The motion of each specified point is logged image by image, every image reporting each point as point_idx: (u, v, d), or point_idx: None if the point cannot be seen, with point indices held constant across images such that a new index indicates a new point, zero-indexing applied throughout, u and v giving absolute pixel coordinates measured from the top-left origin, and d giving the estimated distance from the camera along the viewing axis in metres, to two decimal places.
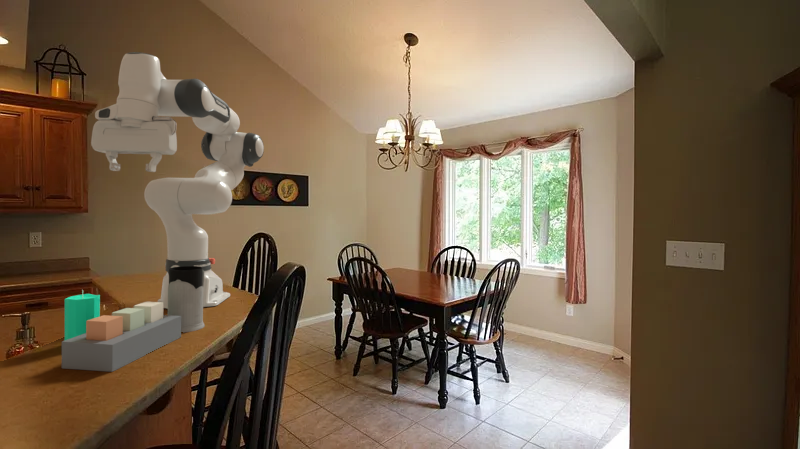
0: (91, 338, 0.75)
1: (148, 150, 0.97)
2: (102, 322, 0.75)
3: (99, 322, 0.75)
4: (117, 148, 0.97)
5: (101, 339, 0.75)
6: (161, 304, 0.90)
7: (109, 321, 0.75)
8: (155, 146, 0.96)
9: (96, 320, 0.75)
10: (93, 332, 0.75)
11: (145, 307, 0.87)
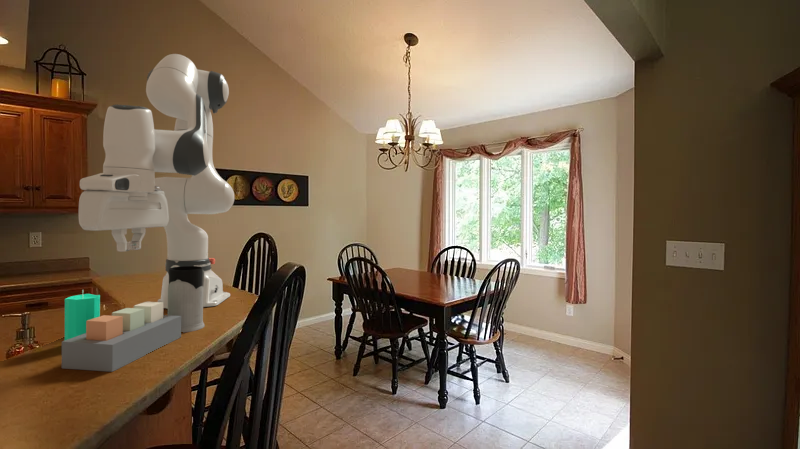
0: (91, 338, 0.75)
1: (153, 226, 0.87)
2: (102, 322, 0.75)
3: (99, 322, 0.75)
4: (126, 226, 0.79)
5: (101, 339, 0.75)
6: (161, 304, 0.90)
7: (109, 321, 0.75)
8: (160, 221, 0.89)
9: (96, 320, 0.75)
10: (93, 332, 0.75)
11: (145, 307, 0.87)
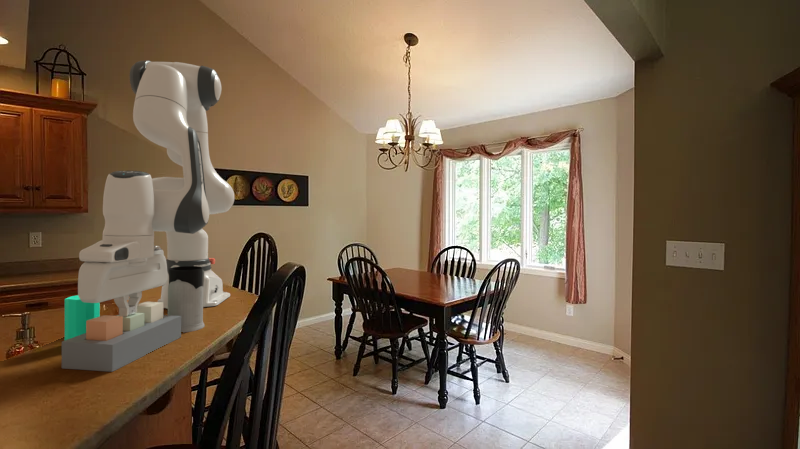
0: (91, 338, 0.75)
1: (152, 287, 0.87)
2: (102, 322, 0.75)
3: (99, 322, 0.75)
4: (125, 293, 0.79)
5: (101, 339, 0.75)
6: (161, 304, 0.90)
7: (109, 321, 0.75)
8: (159, 281, 0.89)
9: (96, 320, 0.75)
10: (93, 332, 0.75)
11: (145, 307, 0.87)
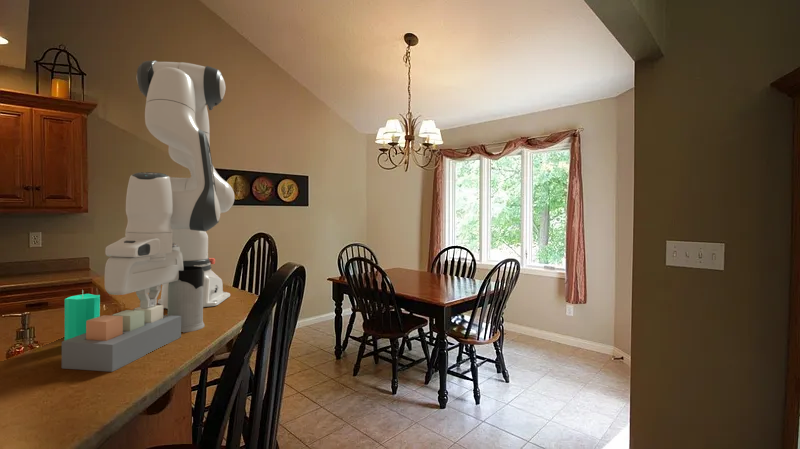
0: (91, 338, 0.75)
1: (170, 281, 0.93)
2: (102, 322, 0.75)
3: (99, 322, 0.75)
4: (146, 286, 0.85)
5: (101, 339, 0.75)
6: (161, 307, 0.90)
7: (109, 321, 0.75)
8: (176, 276, 0.95)
9: (96, 320, 0.75)
10: (93, 332, 0.75)
11: (145, 310, 0.87)
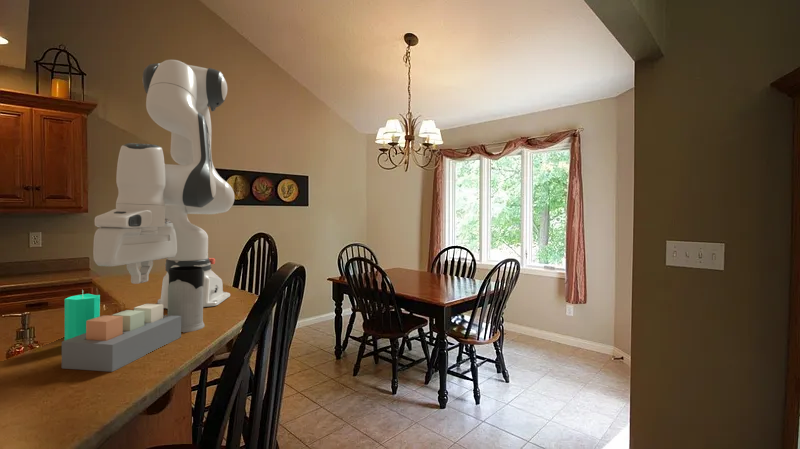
0: (91, 338, 0.75)
1: (162, 258, 0.90)
2: (102, 322, 0.75)
3: (99, 322, 0.75)
4: (137, 260, 0.82)
5: (101, 339, 0.75)
6: (161, 306, 0.90)
7: (109, 321, 0.75)
8: (169, 252, 0.92)
9: (96, 320, 0.75)
10: (93, 332, 0.75)
11: (145, 309, 0.87)
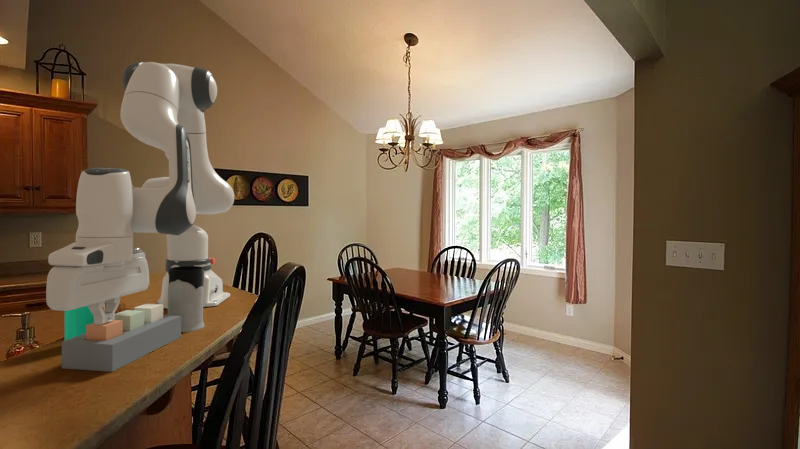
0: None
1: (132, 293, 0.81)
2: (102, 326, 0.75)
3: (99, 326, 0.75)
4: (100, 300, 0.73)
5: None
6: (161, 306, 0.90)
7: (109, 325, 0.75)
8: (139, 286, 0.83)
9: None
10: (93, 336, 0.75)
11: (145, 309, 0.87)
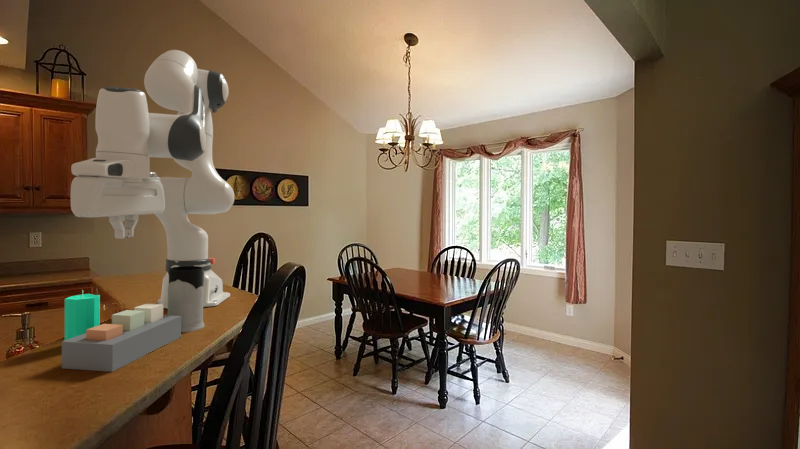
0: None
1: (149, 213, 0.85)
2: (102, 331, 0.75)
3: (99, 331, 0.75)
4: (120, 213, 0.77)
5: None
6: (161, 306, 0.90)
7: (109, 330, 0.76)
8: (156, 207, 0.87)
9: (96, 329, 0.75)
10: None
11: (145, 309, 0.87)
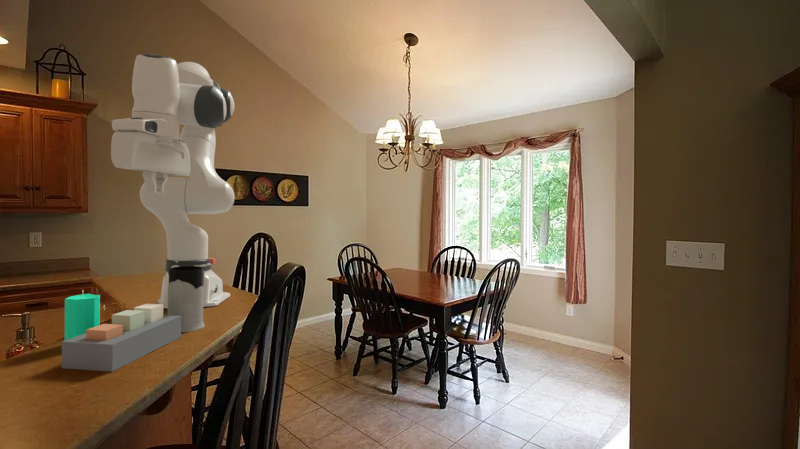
0: None
1: (177, 173, 0.91)
2: (102, 331, 0.75)
3: (99, 331, 0.75)
4: (153, 168, 0.83)
5: None
6: (161, 306, 0.90)
7: (109, 330, 0.76)
8: (183, 169, 0.93)
9: (96, 329, 0.75)
10: None
11: (145, 309, 0.87)
